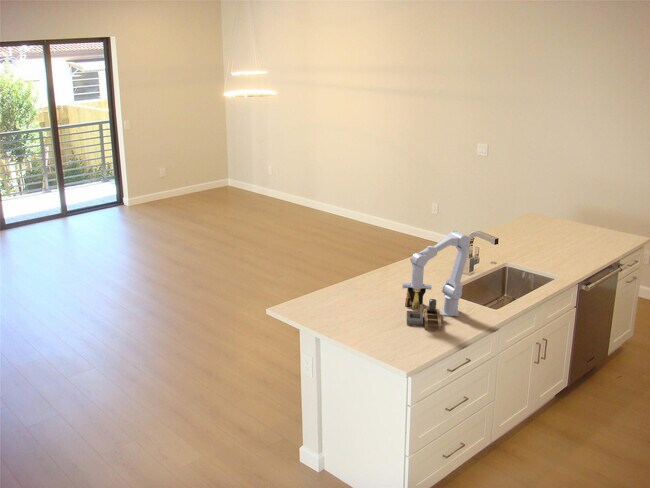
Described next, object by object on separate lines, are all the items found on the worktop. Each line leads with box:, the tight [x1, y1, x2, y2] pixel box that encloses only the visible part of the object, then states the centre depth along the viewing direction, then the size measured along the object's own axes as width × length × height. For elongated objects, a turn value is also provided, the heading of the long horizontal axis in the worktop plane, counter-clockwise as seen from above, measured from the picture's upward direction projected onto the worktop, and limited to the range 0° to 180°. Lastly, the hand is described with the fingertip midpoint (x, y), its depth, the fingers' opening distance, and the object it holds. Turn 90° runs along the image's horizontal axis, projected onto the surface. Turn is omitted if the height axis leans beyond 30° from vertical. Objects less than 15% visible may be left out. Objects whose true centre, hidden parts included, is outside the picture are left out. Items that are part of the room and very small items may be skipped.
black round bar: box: [428, 298, 437, 314], centre depth 371 cm, size 4×4×9 cm
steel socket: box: [406, 310, 424, 327], centre depth 367 cm, size 12×8×2 cm, turn 174°
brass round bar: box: [411, 289, 420, 310], centre depth 364 cm, size 4×4×9 cm
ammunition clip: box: [404, 288, 424, 308], centre depth 384 cm, size 11×2×12 cm, turn 121°
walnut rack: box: [423, 307, 442, 332], centre depth 366 cm, size 21×8×2 cm, turn 174°
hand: (415, 301), depth 364 cm, fingers closed on brass round bar, 4 cm apart
